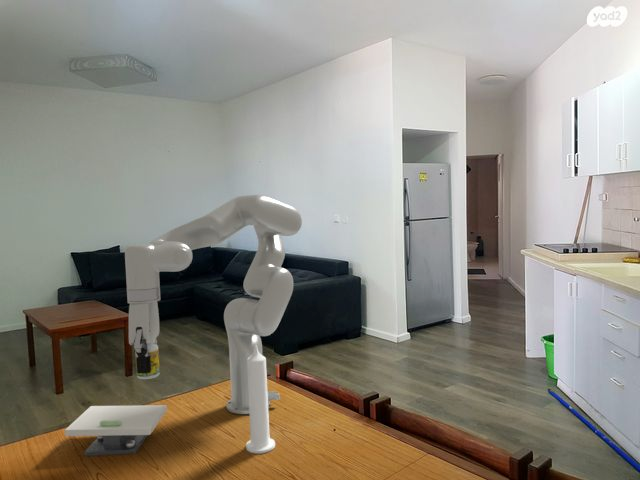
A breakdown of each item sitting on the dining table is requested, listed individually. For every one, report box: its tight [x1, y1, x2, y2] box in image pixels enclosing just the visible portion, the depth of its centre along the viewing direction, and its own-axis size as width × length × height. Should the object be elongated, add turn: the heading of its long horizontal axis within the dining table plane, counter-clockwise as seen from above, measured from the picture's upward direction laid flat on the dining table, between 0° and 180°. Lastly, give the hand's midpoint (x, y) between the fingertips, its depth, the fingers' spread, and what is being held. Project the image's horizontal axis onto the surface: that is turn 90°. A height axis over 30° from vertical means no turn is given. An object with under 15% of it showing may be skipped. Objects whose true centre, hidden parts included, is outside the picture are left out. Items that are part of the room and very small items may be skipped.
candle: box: [245, 345, 276, 455], centre depth 118 cm, size 7×7×25 cm
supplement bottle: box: [134, 339, 161, 380], centre depth 120 cm, size 5×5×10 cm
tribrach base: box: [84, 435, 149, 457], centre depth 124 cm, size 12×13×4 cm
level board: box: [64, 404, 168, 437], centre depth 124 cm, size 20×14×3 cm
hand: (147, 367), depth 120 cm, fingers closed on supplement bottle, 5 cm apart
